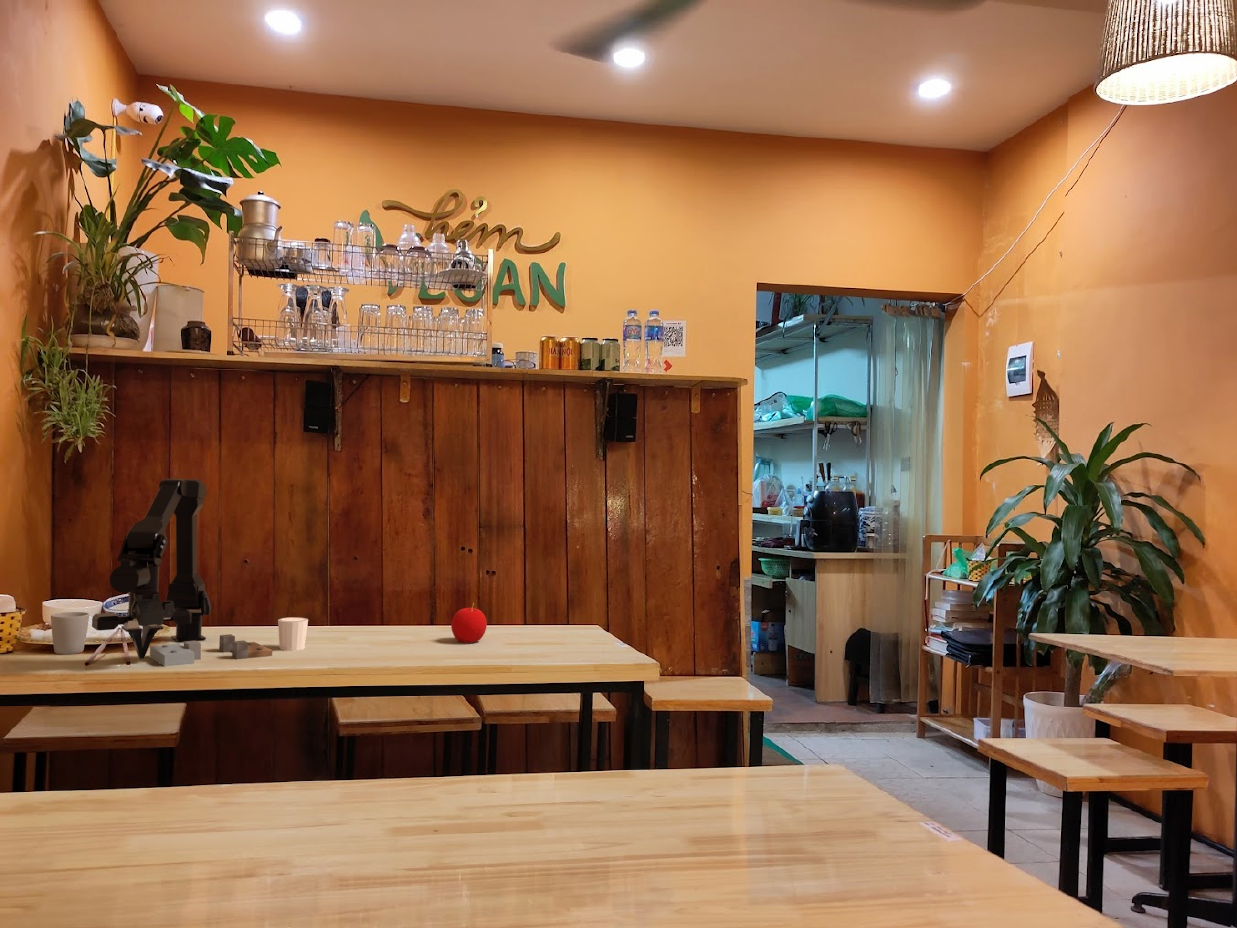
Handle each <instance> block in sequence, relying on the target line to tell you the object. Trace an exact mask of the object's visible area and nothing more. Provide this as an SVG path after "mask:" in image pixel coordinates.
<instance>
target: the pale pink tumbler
mask: <svg viewBox="0 0 1237 928" xmlns="http://www.w3.org/2000/svg"><path fill="white" fill-rule="evenodd" d="M308 622H309V619H308V618H305V617H297V616H295V617H293V616H292V617H291V616H290V617H283V618H279V619H277V625H278V627H277V629H278V645H279V650H281V651H286V652H287V651H289V652H293V651H294V652H295V651H303V650H305V647H306V641H307V640H306V638H307V633H308Z"/></svg>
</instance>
